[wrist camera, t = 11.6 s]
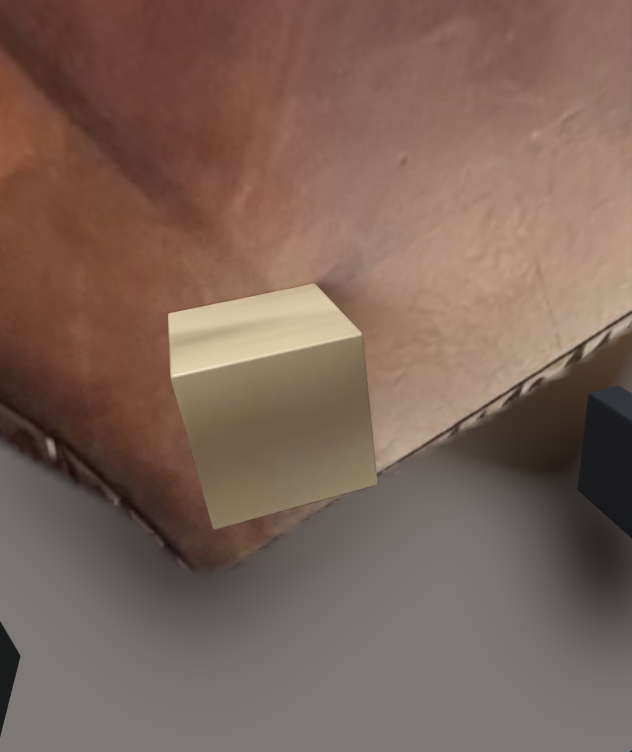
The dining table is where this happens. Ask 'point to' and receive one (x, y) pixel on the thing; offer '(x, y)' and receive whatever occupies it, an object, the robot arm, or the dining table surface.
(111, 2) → the dining table surface
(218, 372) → the block
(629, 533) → the robot arm
